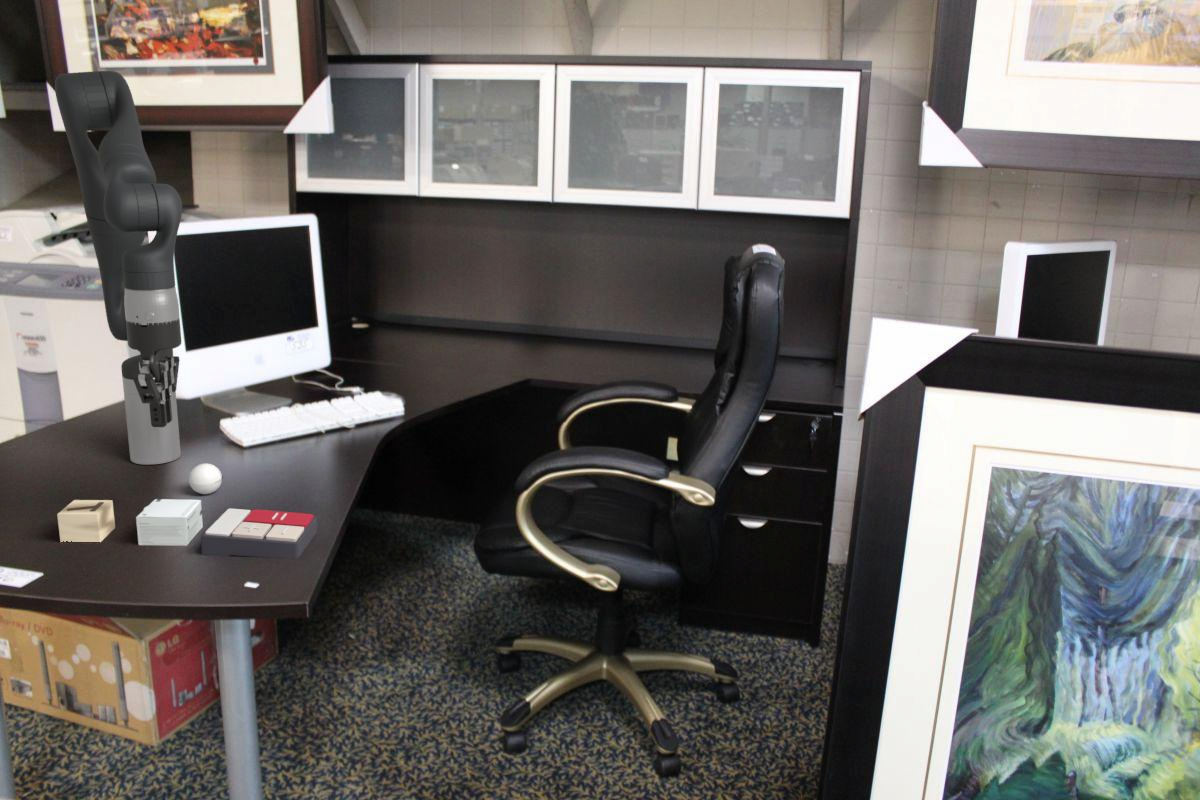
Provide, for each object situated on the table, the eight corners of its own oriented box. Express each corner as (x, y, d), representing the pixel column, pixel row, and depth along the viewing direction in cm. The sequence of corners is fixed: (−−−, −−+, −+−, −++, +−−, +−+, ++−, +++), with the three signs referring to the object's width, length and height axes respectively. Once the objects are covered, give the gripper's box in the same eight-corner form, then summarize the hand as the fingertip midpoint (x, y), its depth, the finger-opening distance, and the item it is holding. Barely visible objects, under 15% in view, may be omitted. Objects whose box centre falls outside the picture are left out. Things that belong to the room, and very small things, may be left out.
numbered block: (77, 528, 156) (74, 499, 154) (115, 528, 156) (112, 499, 155) (60, 543, 150) (57, 513, 148) (100, 543, 150) (96, 513, 149)
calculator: (298, 539, 147) (200, 530, 146) (297, 564, 148) (200, 556, 148) (318, 512, 158) (226, 504, 157) (317, 535, 159) (227, 528, 158)
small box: (187, 546, 151) (185, 517, 149) (137, 546, 150) (134, 516, 149) (204, 527, 158) (202, 498, 157) (156, 526, 158) (153, 498, 156)
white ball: (212, 500, 169) (210, 470, 168) (183, 497, 170) (181, 467, 169) (235, 485, 177) (233, 457, 175) (207, 482, 177) (205, 454, 176)
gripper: (144, 308, 151) (153, 411, 155) (108, 324, 138) (119, 437, 142) (192, 309, 151) (200, 412, 156) (161, 325, 138) (171, 438, 143)
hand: (161, 424), depth 149 cm, fingers closed
